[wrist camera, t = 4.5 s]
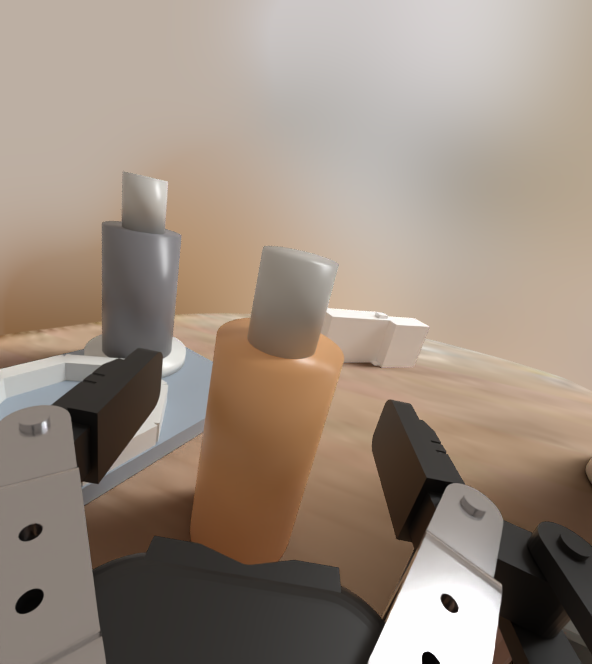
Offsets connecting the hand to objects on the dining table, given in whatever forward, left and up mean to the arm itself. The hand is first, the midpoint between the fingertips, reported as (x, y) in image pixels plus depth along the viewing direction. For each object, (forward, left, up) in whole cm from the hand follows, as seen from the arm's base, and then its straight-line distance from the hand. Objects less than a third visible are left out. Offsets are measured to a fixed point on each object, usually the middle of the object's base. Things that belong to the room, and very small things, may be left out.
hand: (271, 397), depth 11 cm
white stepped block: (-23, -2, -8) cm, 24 cm away
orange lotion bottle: (0, 0, -7) cm, 7 cm away
